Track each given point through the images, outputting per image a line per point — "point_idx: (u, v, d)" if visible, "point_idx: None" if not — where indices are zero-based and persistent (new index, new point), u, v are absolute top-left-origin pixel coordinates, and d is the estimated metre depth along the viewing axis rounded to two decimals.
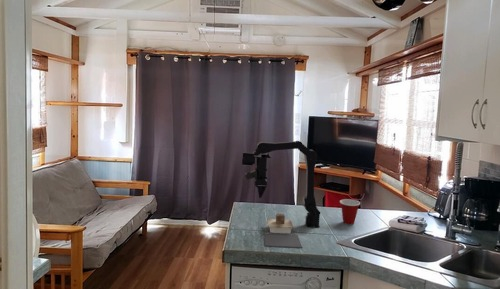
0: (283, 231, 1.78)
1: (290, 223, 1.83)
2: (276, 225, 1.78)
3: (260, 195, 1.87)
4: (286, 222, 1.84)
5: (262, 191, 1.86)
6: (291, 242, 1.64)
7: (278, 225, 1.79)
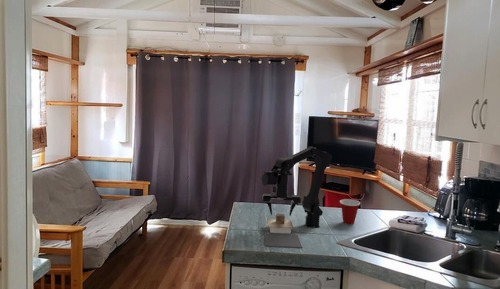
0: (283, 231, 1.78)
1: (290, 223, 1.83)
2: (276, 225, 1.78)
3: (270, 212, 1.83)
4: (286, 222, 1.84)
5: (269, 208, 1.81)
6: (291, 242, 1.64)
7: (278, 225, 1.79)
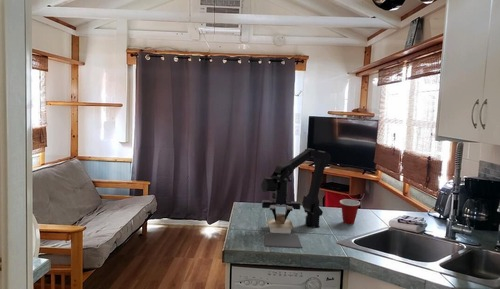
0: (283, 231, 1.78)
1: (290, 223, 1.83)
2: (276, 225, 1.78)
3: None
4: (286, 222, 1.84)
5: None
6: (291, 242, 1.64)
7: (278, 225, 1.79)
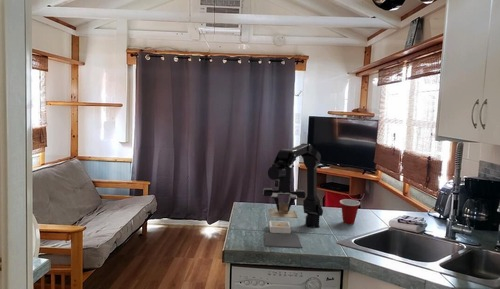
0: (283, 231, 1.78)
1: (294, 213, 1.67)
2: (279, 215, 1.63)
3: (277, 208, 1.67)
4: (290, 212, 1.68)
5: (276, 203, 1.66)
6: (291, 242, 1.64)
7: (281, 215, 1.63)
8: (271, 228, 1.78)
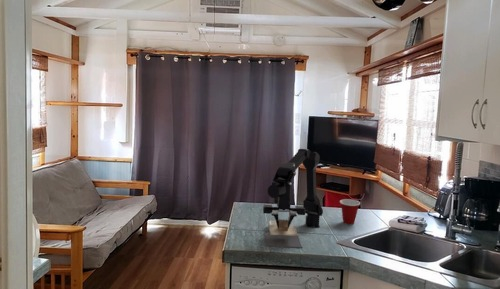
0: None
1: (294, 230, 1.67)
2: (279, 232, 1.62)
3: (277, 225, 1.67)
4: (289, 229, 1.68)
5: None
6: (291, 242, 1.64)
7: (281, 232, 1.63)
8: None
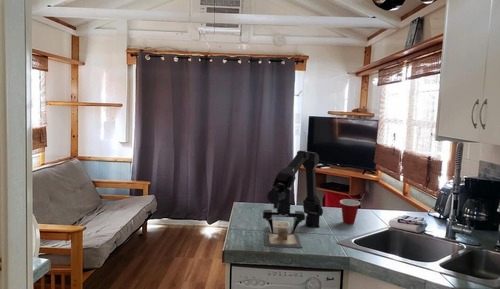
0: None
1: (293, 239, 1.67)
2: (278, 241, 1.63)
3: (271, 230, 1.67)
4: (289, 238, 1.68)
5: (270, 225, 1.66)
6: None
7: (280, 241, 1.63)
8: None
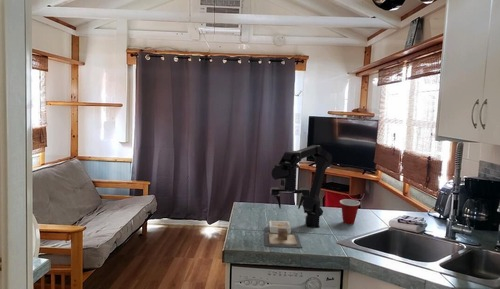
0: None
1: (293, 239, 1.67)
2: (278, 241, 1.63)
3: None
4: (289, 238, 1.68)
5: None
6: None
7: (280, 241, 1.63)
8: (271, 228, 1.78)
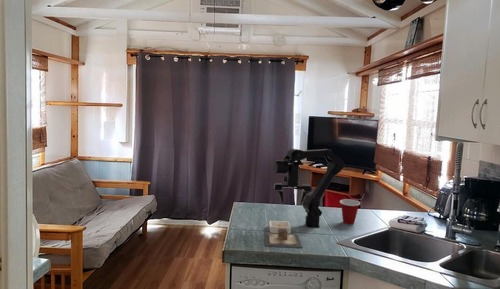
0: None
1: (293, 239, 1.67)
2: (278, 241, 1.63)
3: None
4: (289, 238, 1.68)
5: None
6: None
7: (280, 241, 1.63)
8: (271, 228, 1.78)
